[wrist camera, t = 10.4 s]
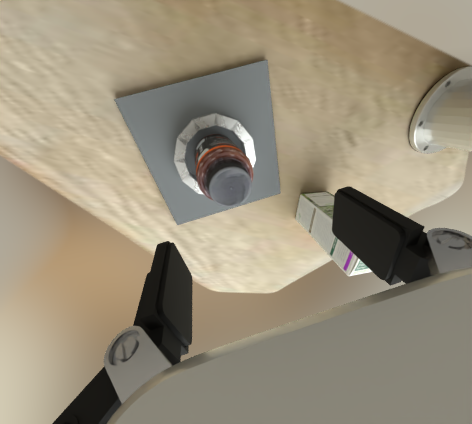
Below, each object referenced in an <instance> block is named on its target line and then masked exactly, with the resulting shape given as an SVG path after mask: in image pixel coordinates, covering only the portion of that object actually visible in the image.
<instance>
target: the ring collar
mask: <svg viewBox="0 0 472 424" xmlns="http://www.w3.org/2000/svg"><path fill="white" fill-rule="evenodd" d="M215 125H217V126H220V127H224V128H227V129H230V130H232V131H233V133H234V134H235V135H236V136H237V137H238V138H239V139H240V141H241V146H242V151H243V153H244V154H245V155H246V156H247V157H248V158H249V160H250V162H251V164H252V167H253V166H254V163H255V160H256V157H255V151H254V145H253V139H252V137H251V136H250V135H249V133H248V132H247V131H246V130H245V129H244V127H243V126H242V125H241V124H240V122H239V121H237V120H235V119H232V118H229V117H226V116H223V115H220V114H217V113H211V114H207V115H203V116H200V117H196V118H192V120H191V121H190V122H189V123H188V124H187V125H186V127H185V128H184V129H183V130H182V131H181V132H180V134H179V135H178V137H177V142H176V149H175V156H174V163H175V165H176V167H177V170H178V172H179V175H180V177H181V179H182V181H183V182H184V183H185V184H187V185H188V186H189V187H190V188H192V189H193V190H194V191H196V192H197V193H198V194H203V193H202V191H201V190H200V188H199V186H198V183H197V179H196V176H195V175H194V174H192V173H191V172H190V170H189V168H188V165H187V162H186V160H185V152H186V146H187V143H188V142H189V141H190V139H191V138H192V137H193V136H194V135H195V134H196V133H197V131H198V130H201V129H204V128H208V127H211V126H215ZM203 195H204V194H203Z"/></svg>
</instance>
